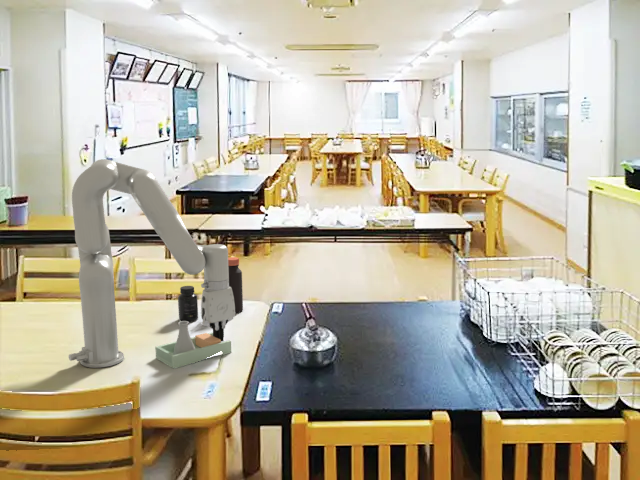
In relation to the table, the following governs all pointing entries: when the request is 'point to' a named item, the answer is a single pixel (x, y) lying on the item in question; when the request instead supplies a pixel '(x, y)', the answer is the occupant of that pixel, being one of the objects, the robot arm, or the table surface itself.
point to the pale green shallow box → (189, 353)
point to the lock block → (206, 340)
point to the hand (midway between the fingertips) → (218, 340)
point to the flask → (183, 339)
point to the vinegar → (236, 282)
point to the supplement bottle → (187, 304)
